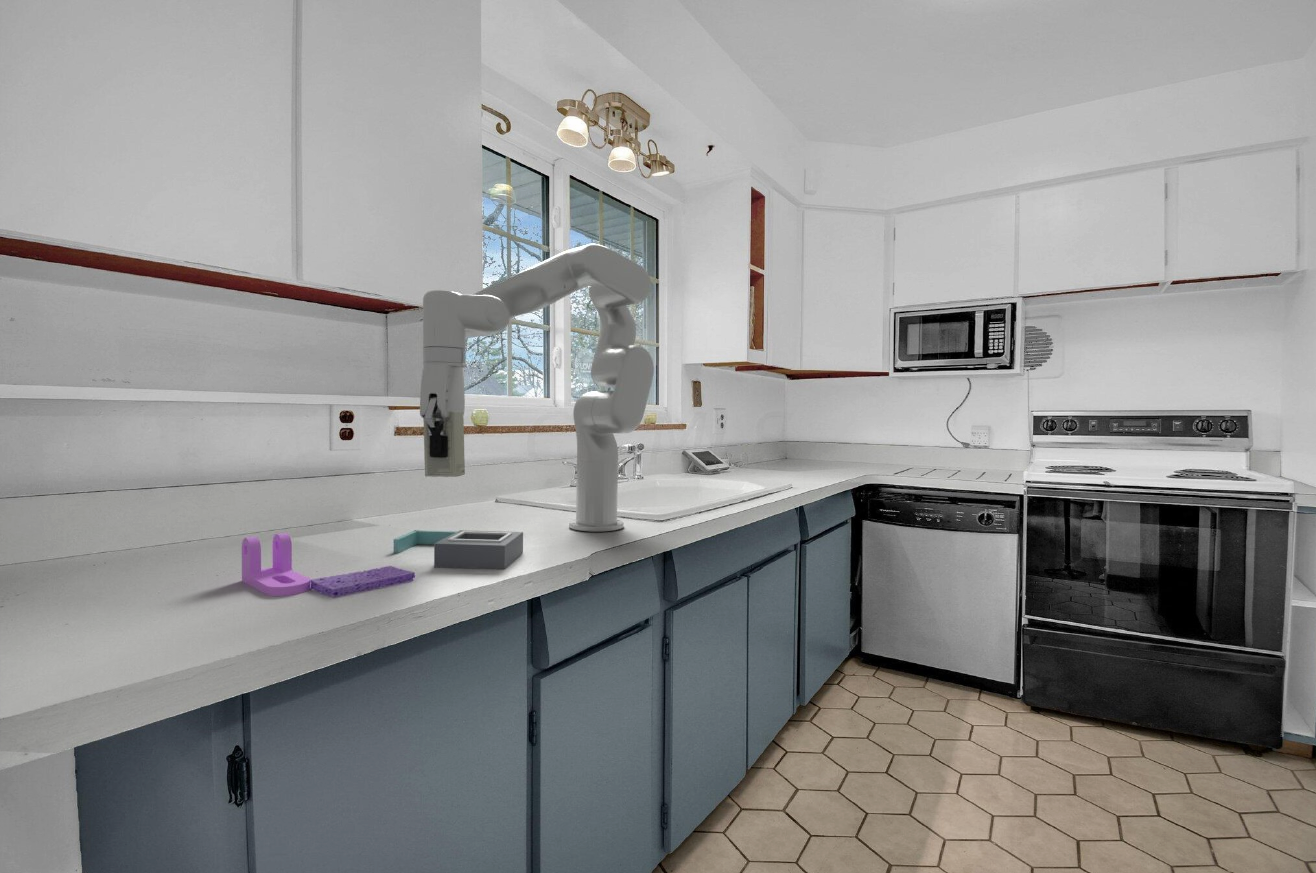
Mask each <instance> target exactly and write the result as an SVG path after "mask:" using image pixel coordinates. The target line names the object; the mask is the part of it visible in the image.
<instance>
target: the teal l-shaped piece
mask: <svg viewBox="0 0 1316 873" xmlns="http://www.w3.org/2000/svg"><path fill="white" fill-rule="evenodd" d="M458 531H459V530H458ZM458 531H457V530H454V531H453V530H421V529H420V530H419V529H418V530H417V529H414V530H412V531H409V532H407V533H405V534H402V535H401V536H398V537H396V538H393V553H394V554H399V553H401V552H404V551H406V550H409V549H411V548H412V547H414V546H416V545H434V544H435V543H436V542H438V541H440V540H442V539H444V538H446V537H448V536H450V535H452V534H454V533H456V532H458Z"/></svg>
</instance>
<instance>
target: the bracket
mask: <svg viewBox="0 0 1316 873" xmlns="http://www.w3.org/2000/svg"><path fill="white" fill-rule="evenodd" d="M292 546H293V545H292V539H291V535H290V534H289V533H288V532H283V533H275V534H274V535H273V538H272V567H269V568H263V569H262V545H261V542H260V539H259V538H258V536H252V537H251V536H250V537H245V538H243V539H242V543H241V582H243V581H244V582H243V583H245V584H246V585H248V584H249V585H248V586H250V585H251V587H252V588H254V587H255V588H254V589H256V588H257V589H256V590H258V591H259V590H260V592H261V591H262V593H263V592H264V593H263V594H264V595H267V596H270V597H273V596H274V597H286V596H293V594H294V595H298V594H303V593H306V592H308V591H309V589H310V590H311V580H312V579H311V578H310V577H308V576H306V575H303V574H301V573H299V572H297V571H294V570H293V567H292V566H293V564H292V563H293V562H292V561H293V559H292V558H293V557H292V556H293V555H292V554H293V551H292V550H293V549H292ZM307 590H308V591H307ZM305 591H306V592H305ZM302 592H303V593H302Z"/></svg>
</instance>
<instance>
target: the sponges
mask: <svg viewBox="0 0 1316 873" xmlns="http://www.w3.org/2000/svg"><path fill="white" fill-rule="evenodd" d="M415 578H416V573H415V571H411V570H406V569H402V568H399V567H397V566H392V565H388V566H382V567H379V568H378V567H376V568H371V569H368V570H363V571H355V572H349V573H344V574H336V575H331V576H324V577H320V578H319V577H318V578H313V579H311V588H310V590H312V589H313V590H312V591H314V592H318V593H320V592H321V593H320V594H323V595H326V596H328V597H331V598H333V599H334V598H339V597H343V596H347V595H352V594H357V593H361V592H365V590H366V591H372V590H374V588H376V589H380V587H381V588H385V587H389V586H393V585H398V584H403V583H407V582H408V583H410V582H412V581H414V579H415Z"/></svg>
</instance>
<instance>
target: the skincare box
mask: <svg viewBox="0 0 1316 873" xmlns="http://www.w3.org/2000/svg"><path fill="white" fill-rule="evenodd" d="M435 418H442V416H441V415H435ZM422 419H423V418H422ZM464 420H465V419H464V415H463V412H451V415H450V418H449V419H447V425H446V434H445V436H448V456H447V457H446V458H435V457H430V436H429V427H428V425H427V422H426V421H425V419H423V451H424V454H423V455H424V477H433V478H435V477H437V478H438V477H440V478H441V477H442V478H448V477H449V478H454V477H457V478H458V477H461V476H464V475H465V474H466V471H465V470H466V468H465V467H466V466H465V431H464V430H465V427H464V426H465V423H464ZM439 423H440V426H441V422H439Z"/></svg>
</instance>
